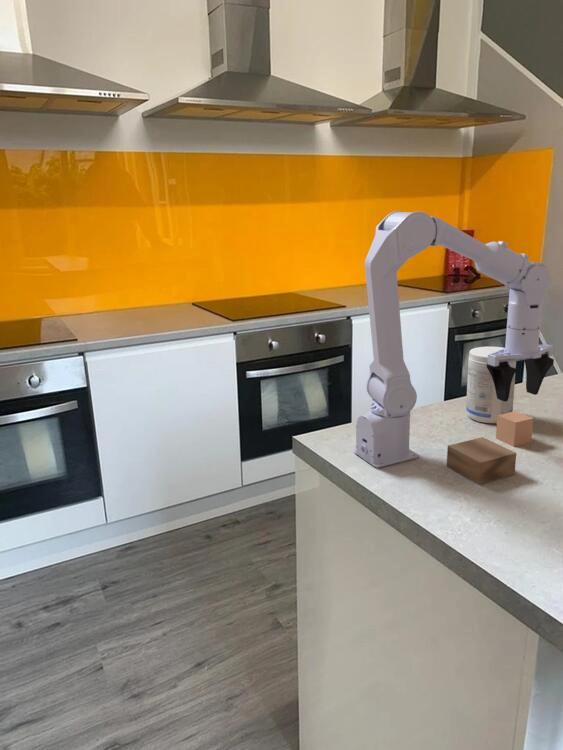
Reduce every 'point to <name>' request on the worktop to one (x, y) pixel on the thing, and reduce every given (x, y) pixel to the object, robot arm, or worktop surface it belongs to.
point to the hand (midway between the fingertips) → (517, 396)
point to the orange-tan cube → (514, 428)
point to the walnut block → (481, 460)
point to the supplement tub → (485, 388)
